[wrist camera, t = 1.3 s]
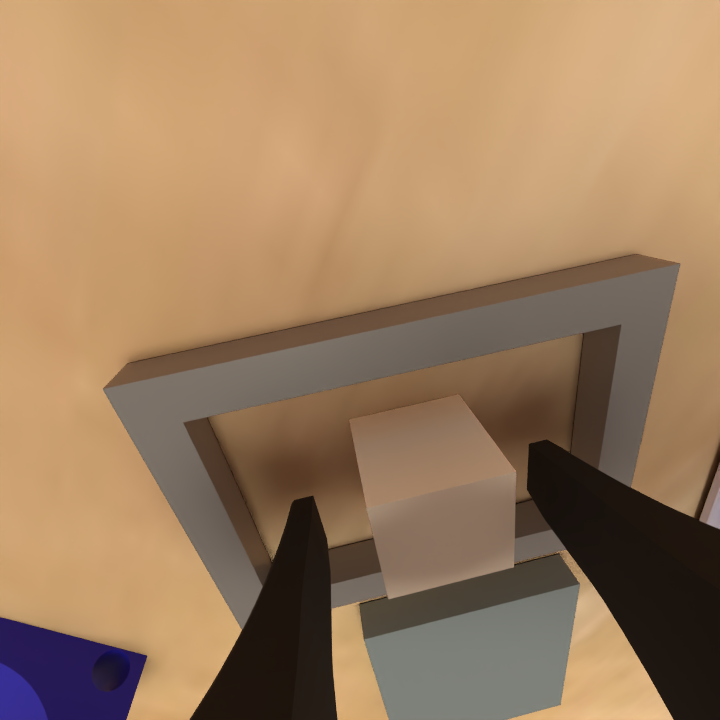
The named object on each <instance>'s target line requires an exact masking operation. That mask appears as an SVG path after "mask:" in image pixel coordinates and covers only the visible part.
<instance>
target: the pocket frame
mask: <svg viewBox="0 0 720 720" xmlns="http://www.w3.org/2000/svg"><path fill="white" fill-rule="evenodd" d="M679 267H680V263H675V262H671V261H666V260H661V259H657V258H652V257H648V256H643V255H638V254H635V255H631V256H626V257H621V258H617V259H612V260H607V261H603V262H598V263H593V264H589V265H584V266H579V267H575V268H570V269H565V270H561V271H556V272H552V273H547V274H542V275H538V276H533V277H528V278H524V279H519V280H514V281H510V282H505V283H500V284H496V285H491V286H486V287H482V288H477V289H472V290H468V291H463V292H458V293H454V294H449V295H444V296H440V297H435V298H430V299H426V300H421V301H416V302H412V303H407V304H403V305H398V306H393V307H389V308H384V309H379V310H375V311H370V312H365V313H361V314H356V315H351V316H347V317H342V318H337V319H333V320H328V321H323V322H319V323H314V324H309V325H305V326H300V327H295V328H291V329H286V330H281V331H277V332H272V333H267V334H263V335H258V336H254V337H249V338H244V339H240V340H235V341H230V342H226V343H221V344H216V345H212V346H207V347H202V348H198V349H193V350H188V351H184V352H179V353H174V354H170V355H165V356H160V357H156V358H151V359H146V360H142V361H137V362H132V363H128V364H126V365H125V367H124V368H123V369H122V370H121V371H120V372H119V373H118V374H117V375H116V376H115V377H114V378H113V379H112V380H111V381H110V382H109V383H108V384H107V385H106V386H105V387H104V388H103V391H104V392H105V394H106V396H107V397H108V399H109V401H110V403H111V404H112V406H113V408H114V410H115V411H116V413H117V415H118V416H119V418H120V420H121V422H122V423H123V425H124V427H125V429H126V430H127V432H128V434H129V435H130V437H131V439H132V441H133V442H134V444H135V446H136V448H137V449H138V451H139V453H140V454H141V456H142V458H143V460H144V461H145V463H146V465H147V467H148V468H149V470H150V472H151V473H152V475H153V477H154V479H155V480H156V482H157V484H158V486H159V487H160V489H161V491H162V492H163V494H164V496H165V498H166V499H167V501H168V503H169V505H170V506H171V508H172V510H173V511H174V513H175V515H176V517H177V518H178V520H179V522H180V524H181V525H182V527H183V529H184V530H185V532H186V534H187V536H188V537H189V539H190V541H191V543H192V544H193V546H194V548H195V549H196V551H197V553H198V555H199V556H200V558H201V560H202V562H203V563H204V565H205V567H206V568H207V570H208V572H209V574H210V575H211V577H212V579H213V581H214V582H215V584H216V586H217V587H218V589H219V591H220V593H221V594H222V596H223V598H224V600H225V601H226V603H227V605H228V606H229V608H230V610H231V612H232V613H233V615H234V617H235V619H236V620H237V622H238V624H239V625H240V627H241V629H242V630H243V628H244V626H245V624H246V622H247V620H248V618H249V616H250V613H251V611H252V609H253V607H254V605H255V603H256V601H257V599H258V596H259V594H260V592H261V589H262V587H263V585H264V582H265V580H266V578H267V575H268V573H269V570H270V568H271V565H272V562H271V560H270V558H269V556H268V553H267V551H266V549H265V547H264V544H263V542H262V540H261V538H260V536H259V533H258V531H257V529H256V527H255V524H254V522H253V520H252V518H251V515H250V513H249V511H248V509H247V506H246V504H245V502H244V500H243V497H242V495H241V493H240V491H239V488H238V486H237V484H236V482H235V479H234V477H233V475H232V473H231V470H230V468H229V466H228V464H227V461H226V459H225V457H224V455H223V453H222V450H221V448H220V446H219V444H218V441H217V439H216V437H215V435H214V432H213V430H212V428H211V426H210V423H209V421H208V419H207V417H210V416H214V415H219V414H223V413H228V412H232V411H236V410H241V409H245V408H250V407H254V406H259V405H263V404H268V403H272V402H277V401H281V400H286V399H290V398H295V397H299V396H304V395H308V394H312V393H317V392H321V391H326V390H330V389H335V388H339V387H344V386H348V385H353V384H357V383H362V382H366V381H371V380H375V379H379V378H384V377H388V376H393V375H397V374H402V373H406V372H411V371H415V370H420V369H424V368H429V367H433V366H438V365H442V364H447V363H451V362H455V361H460V360H464V359H469V358H473V357H478V356H482V355H487V354H491V353H496V352H500V351H505V350H509V349H514V348H518V347H523V346H527V345H531V344H536V343H540V342H545V341H549V340H554V339H558V338H563V337H567V336H572V335H576V334H581V333H584V338H583V347H582V356H581V365H580V374H579V383H578V392H577V401H576V410H575V419H574V427H573V436H572V445H571V454H572V455H574V456H576V457H577V458H579V459H581V460H583V461H584V462H586V463H588V464H589V465H591V466H593V467H595V468H596V469H598V470H600V471H601V472H603V473H605V474H607V475H609V476H610V477H612V478H614V479H616V480H618V481H619V482H621V483H623V484H625V485H627V486H629V487H630V488H631V484H632V480H633V475H634V471H635V466H636V462H637V457H638V453H639V448H640V444H641V439H642V434H643V430H644V425H645V421H646V416H647V412H648V407H649V403H650V398H651V394H652V389H653V385H654V380H655V376H656V371H657V367H658V362H659V358H660V353H661V348H662V344H663V339H664V335H665V330H666V326H667V321H668V317H669V312H670V308H671V303H672V299H673V294H674V290H675V285H676V281H677V276H678V272H679ZM562 550H566V548H565V547H564V545H563V544H562V543H561V541H560V540H559V539H558V537H557V536H556V534H555V533H554V532H553V530H552V529H551V528H550V526H549V525H548V523H547V522H546V521H545V519H544V518H543V516H542V514H541V513H540V511H539V509H538V508H537V506H536V504H535V502H534V501H533V500H531V501H527V502H523V503H518V504H515V544H514V562H518V561H522V560H526V559H530V558H534V557H538V556H542V555H546V554H550V553H554V552H558V551H562ZM328 552H329V561H330V570H331V609H332V608H336V607H340V606H344V605H348V604H352V603H356V602H360V601H364V600H368V599H372V598H376V597H379V596H383V595H387V592H386V588H385V583H384V579H383V575H382V571H381V567H380V563H379V558H378V554H377V550H376V546H375V542H374V539H371V540H367V541H363V542H359V543H355V544H351V545H346V546H342V547H338V548H334V549H330V550H328Z"/></svg>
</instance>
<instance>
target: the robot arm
mask: <svg viewBox="0 0 720 720" xmlns="http://www.w3.org/2000/svg"><path fill="white" fill-rule="evenodd" d="M527 490H528V492H529V493H530V495H531V497H532V499H533V501H534V502H535V504H536V506H537V508H538V509H539V511H540V513H541V514H542V516H543V518H544V519H545V521H546V522H547V523H548V525H549V526H550V528H551V529H552V530H553V532H554V533H555V534H556V536H557V537H558V539H559V540H560V541H561V543H562V544H563V545H564V547H565V548H566V549H567V551H568V552H569V553H570V555H571V556H572V557H573V559H574V560H575V561H576V563H577V564H578V565H579V567H580V568H581V569H582V571H583V572H584V574H585V575H586V576H587V578H588V579H589V580H590V582H591V583H592V584H593V586H594V587H595V589H596V590H597V592H598V593H599V594H600V596H601V597H602V599H603V600H604V602H605V603H606V605H607V607H608V608H609V610H610V612H611V613H612V615H613V616H614V618H615V620H616V621H617V623H618V624H619V626H620V628H621V629H622V631H623V633H624V634H625V636H626V638H627V639H628V641H629V643H630V644H631V646H632V648H633V649H634V651H635V653H636V654H637V656H638V658H639V659H640V661H641V663H642V665H643V666H644V668H645V670H646V671H647V673H648V675H649V677H650V678H651V680H652V682H653V684H654V685H655V687H656V689H657V691H658V693H659V694H660V696H661V698H662V700H663V701H664V703H665V705H666V707H667V709H668V710H669V712H670V714H671V716H672V717H673V719H674V720H720V463H719V466H718V469H717V472H716V474H715V477H714V480H713V483H712V486H711V488H710V491H709V494H708V497H707V500H706V502H705V505H704V508H703V511H702V514H701V516H700V519H699V520H697V519H695V518H692V517H690V516H688V515H686V514H683V513H681V512H679V511H677V510H674V509H672V508H670V507H668V506H666V505H664V504H662V503H660V502H658V501H656V500H654V499H652V498H650V497H648V496H646V495H644V494H642V493H640V492H638V491H636V490H634V489H632V488H630V487H629V486H627V485H625V484H623V483H621V482H619V481H618V480H616V479H614V478H612V477H610V476H609V475H607V474H605V473H603V472H601V471H600V470H598V469H596V468H595V467H593V466H591V465H589V464H588V463H586V462H584V461H583V460H581V459H579V458H577V457H576V456H574V455H572V454H571V453H569V452H567V451H566V450H564V449H562V448H561V447H559V446H557V445H555V444H554V443H552V442H550V441H548V440H543V441H539V442H535V443H530V444H529V456H528V478H527ZM190 720H337V711H336V700H335V690H334V679H333V665H332V622H331V570H330V561H329V552H328V544H327V537H326V534H325V531H324V528H323V525H322V522H321V519H320V516H319V512H318V509H317V506H316V503H315V500H314V497H313V496H310V497H306V498H301V499H297V500H294V501H293V503H292V504H291V508H290V512H289V516H288V519H287V523H286V526H285V529H284V532H283V535H282V538H281V541H280V544H279V547H278V549H277V552H276V555H275V557H274V560H273V563H272V565H271V568H270V570H269V573H268V575H267V578H266V580H265V582H264V585H263V587H262V589H261V592H260V594H259V596H258V599H257V601H256V603H255V605H254V607H253V609H252V611H251V613H250V616H249V618H248V620H247V622H246V624H245V626H244V628H243V630H242V631H241V633H240V635H239V637H238V639H237V641H236V643H235V645H234V647H233V648H232V650H231V652H230V654H229V656H228V657H227V659H226V661H225V663H224V665H223V666H222V668H221V670H220V672H219V673H218V675H217V677H216V678H215V680H214V682H213V683H212V685H211V687H210V688H209V690H208V692H207V693H206V695H205V696H204V698H203V699H202V701H201V703H200V704H199V706H198V707H197V709H196V710H195V712H194V714H193V715H192V717H191V718H190Z"/></svg>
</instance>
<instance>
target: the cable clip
mask: <svg viewBox="0 0 720 720" xmlns="http://www.w3.org/2000/svg"><path fill="white" fill-rule="evenodd" d="M146 658H147V656H146V655H143V654H139V653H135V652H131V651H127V650H123V649H120V648H116V647H112V646H108V645H104V644H101V643H97V642H93V641H89V640H85V639H81V638H78V637H74V636H70V635H66V634H62V633H59V632H55V631H51V630H47V629H43V628H39V627H36V626H32V625H28V624H24V623H20V622H17V621H13V620H9V619H5V618H1V617H0V720H126V719H127V716H128V713H129V710H130V707H131V704H132V701H133V698H134V695H135V692H136V689H137V686H138V683H139V680H140V677H141V673H142V670H143V667H144V664H145V661H146Z"/></svg>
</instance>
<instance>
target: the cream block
mask: <svg viewBox="0 0 720 720" xmlns="http://www.w3.org/2000/svg"><path fill="white" fill-rule="evenodd" d="M349 422H350V427H351V432H352V437H353V442H354V447H355V452H356V457H357V463H358V468H359V473H360V478H361V483H362V488H363V493H364V498H365V503H366V508H367V512H368V517H369V521H370V525H371V529H372V533H373V537H374V542H375V546H376V550H377V554H378V558H379V563H380V567H381V571H382V575H383V579H384V583H385V588H386V592H387V596H388V599H392V598H396V597H400V596H404V595H408V594H412V593H415V592H419V591H423V590H427V589H431V588H435V587H439V586H443V585H447V584H451V583H454V582H458V581H462V580H466V579H470V578H474V577H478V576H482V575H486V574H490V573H493V572H497V571H501V570H505V569H509V568H513V567H514V544H515V503H516V471H515V469H514V468H513V467H512V465H511V464H510V463H509V461H508V460H507V459H506V457H505V456H504V454H503V453H502V452H501V450H500V449H499V448H498V446H497V445H496V444H495V442H494V441H493V440H492V438H491V437H490V435H489V434H488V433H487V431H486V430H485V429H484V427H483V426H482V425H481V423H480V422H479V421H478V419H477V418H476V417H475V415H474V414H473V412H472V411H471V410H470V408H469V407H468V406H467V404H466V403H465V402H464V400H463V399H462V398H461V396H460V395H459V394H458V395H453V396H449V397H445V398H440V399H436V400H432V401H427V402H423V403H419V404H414V405H410V406H406V407H401V408H397V409H393V410H388V411H384V412H379V413H375V414H371V415H366V416H362V417H358V418H353V419H349Z"/></svg>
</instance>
